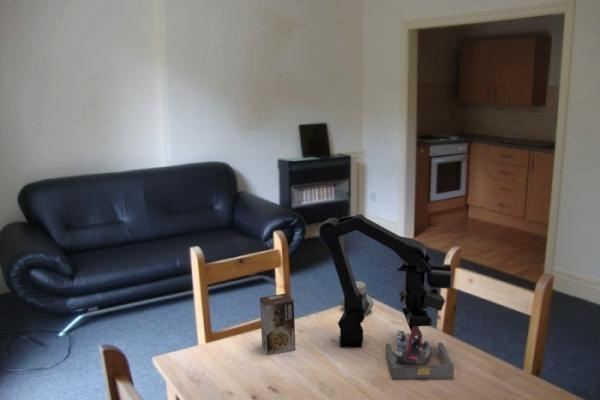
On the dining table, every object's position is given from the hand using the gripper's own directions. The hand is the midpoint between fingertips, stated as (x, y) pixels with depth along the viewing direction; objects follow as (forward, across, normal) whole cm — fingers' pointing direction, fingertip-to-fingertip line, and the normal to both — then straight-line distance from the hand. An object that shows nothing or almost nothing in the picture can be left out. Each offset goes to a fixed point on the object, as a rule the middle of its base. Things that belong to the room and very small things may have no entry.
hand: (413, 334), depth 166 cm
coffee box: (+5, +3, +40) cm, 41 cm away
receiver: (+5, -9, 0) cm, 10 cm away
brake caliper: (+5, -5, +1) cm, 7 cm away
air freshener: (+6, +28, +14) cm, 32 cm away
